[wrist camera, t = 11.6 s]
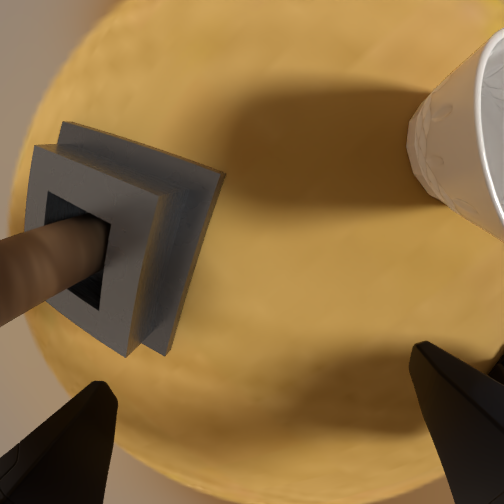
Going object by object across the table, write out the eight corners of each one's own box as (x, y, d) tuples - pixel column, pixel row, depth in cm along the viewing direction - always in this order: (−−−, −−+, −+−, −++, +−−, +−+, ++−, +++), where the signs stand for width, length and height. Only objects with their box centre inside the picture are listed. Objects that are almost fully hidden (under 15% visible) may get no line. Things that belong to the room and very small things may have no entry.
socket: (226, 173, 18) (194, 177, 13) (170, 349, 22) (142, 383, 18) (71, 121, 19) (28, 120, 15) (49, 272, 24) (15, 289, 20)
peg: (134, 242, 19) (-34, 329, 7) (106, 274, 21) (-35, 360, 9) (102, 198, 19) (-68, 248, 7) (77, 233, 20) (-68, 293, 8)
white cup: (398, 216, 16) (473, 277, 7) (387, 80, 14) (445, -2, 5) (506, 216, 14) (611, 265, 5) (498, 93, 12) (599, 61, 3)
